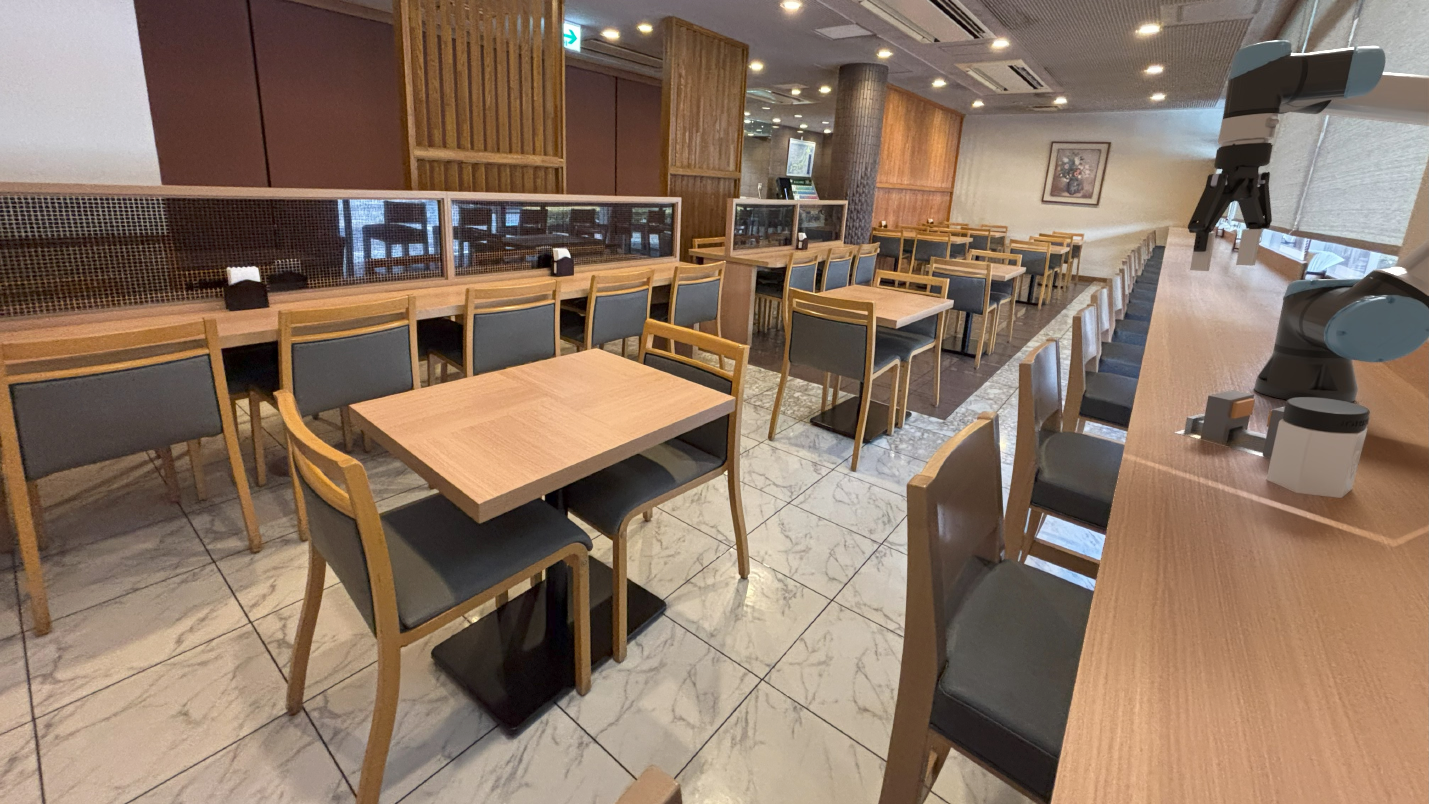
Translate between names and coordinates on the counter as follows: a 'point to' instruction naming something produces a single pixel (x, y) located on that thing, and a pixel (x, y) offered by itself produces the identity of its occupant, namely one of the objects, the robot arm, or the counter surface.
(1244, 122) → the robot arm
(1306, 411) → the jar
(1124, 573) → the counter surface
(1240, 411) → the block
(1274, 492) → the counter surface
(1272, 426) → the fixed finger
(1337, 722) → the counter surface
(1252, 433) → the rail
